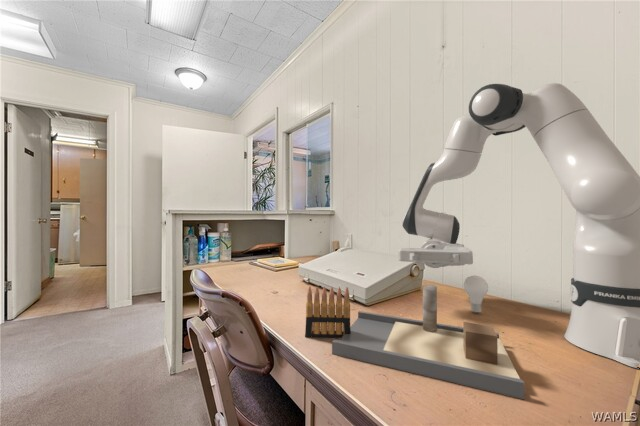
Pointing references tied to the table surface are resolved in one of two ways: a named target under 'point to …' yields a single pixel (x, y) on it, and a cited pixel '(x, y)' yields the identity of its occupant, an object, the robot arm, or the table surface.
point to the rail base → (372, 339)
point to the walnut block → (480, 343)
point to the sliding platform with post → (441, 341)
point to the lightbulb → (476, 291)
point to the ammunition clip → (327, 315)
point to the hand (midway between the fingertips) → (433, 258)
